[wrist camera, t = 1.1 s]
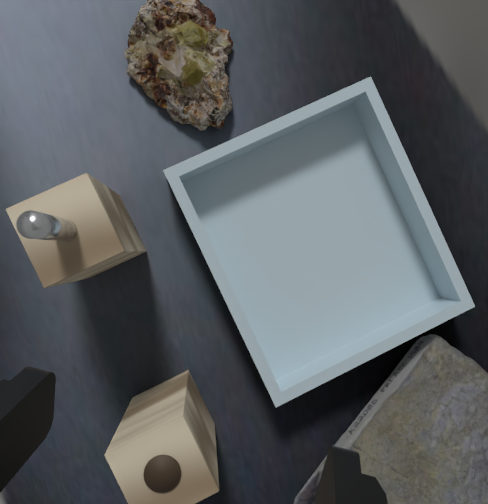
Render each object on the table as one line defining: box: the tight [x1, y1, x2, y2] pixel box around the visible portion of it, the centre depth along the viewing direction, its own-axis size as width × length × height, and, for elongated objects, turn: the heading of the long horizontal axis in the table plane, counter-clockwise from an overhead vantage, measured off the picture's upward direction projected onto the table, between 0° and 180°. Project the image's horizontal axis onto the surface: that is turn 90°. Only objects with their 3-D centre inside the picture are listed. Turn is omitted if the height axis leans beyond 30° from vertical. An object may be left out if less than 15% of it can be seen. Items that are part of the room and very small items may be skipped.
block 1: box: [6, 173, 147, 288], centre depth 27 cm, size 5×5×15 cm
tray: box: [163, 77, 475, 407], centre depth 34 cm, size 18×16×4 cm
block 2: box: [105, 370, 219, 504], centre depth 30 cm, size 5×5×10 cm
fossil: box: [294, 334, 488, 504], centre depth 36 cm, size 20×5×17 cm
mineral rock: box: [124, 0, 233, 131], centre depth 34 cm, size 11×4×8 cm
